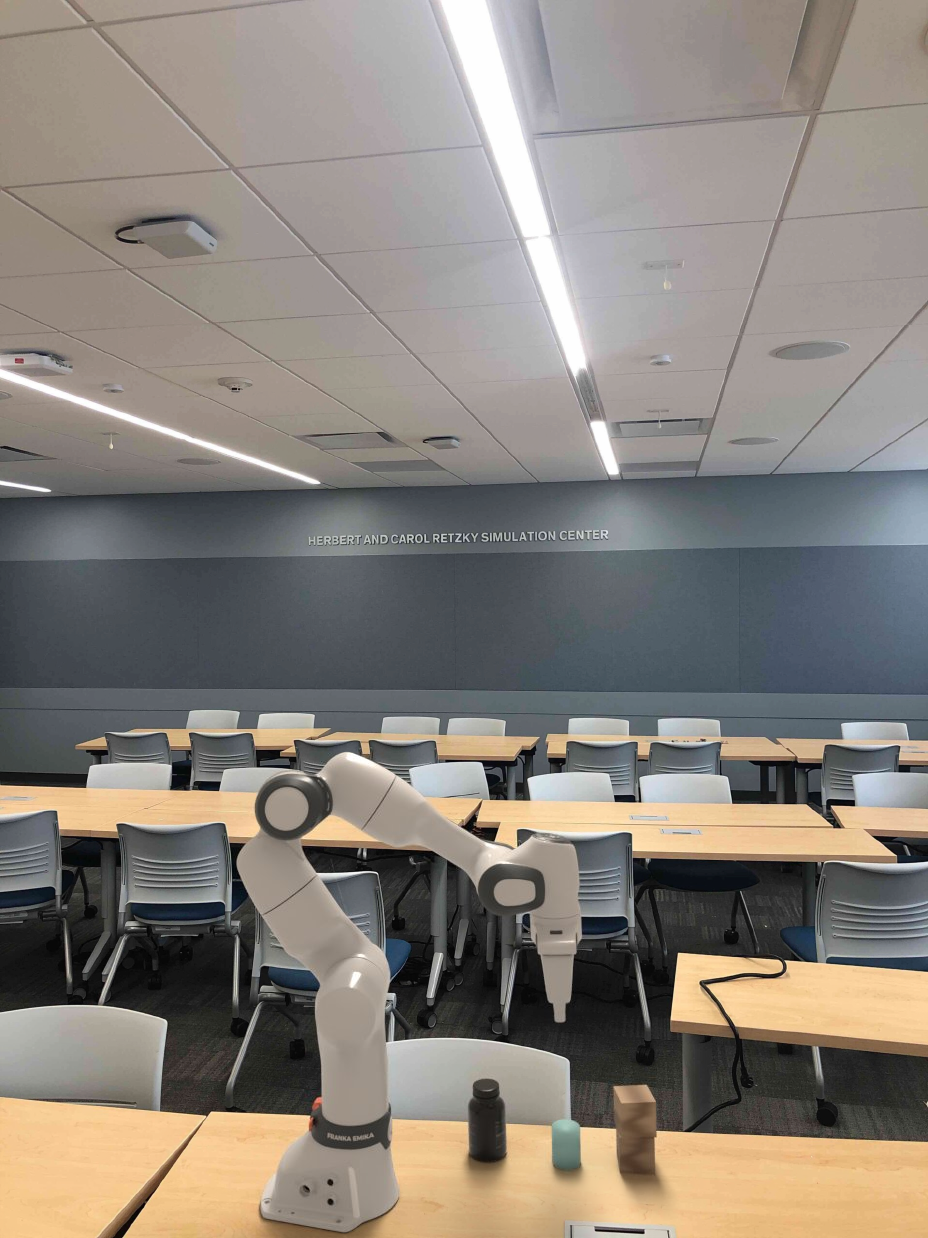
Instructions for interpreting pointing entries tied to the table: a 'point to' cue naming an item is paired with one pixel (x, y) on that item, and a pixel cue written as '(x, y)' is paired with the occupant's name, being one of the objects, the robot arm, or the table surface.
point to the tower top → (635, 1111)
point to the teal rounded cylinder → (566, 1144)
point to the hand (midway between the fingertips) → (559, 1009)
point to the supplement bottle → (487, 1122)
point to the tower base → (635, 1155)
